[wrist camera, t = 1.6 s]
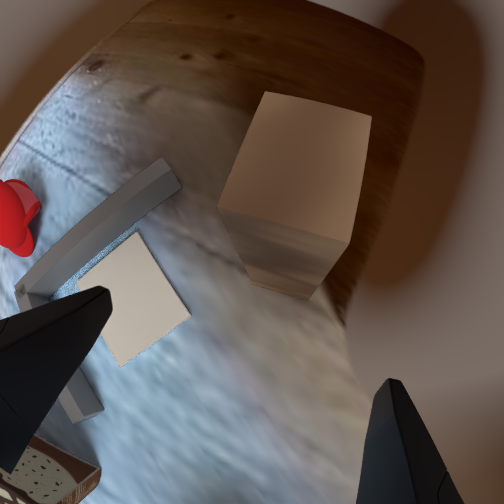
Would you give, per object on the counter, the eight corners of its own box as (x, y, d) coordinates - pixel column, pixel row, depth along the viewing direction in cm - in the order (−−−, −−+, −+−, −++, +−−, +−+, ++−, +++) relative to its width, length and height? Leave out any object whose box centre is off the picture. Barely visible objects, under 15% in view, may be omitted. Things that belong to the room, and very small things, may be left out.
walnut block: (325, 235, 22) (371, 116, 10) (307, 300, 21) (349, 243, 8) (273, 220, 23) (265, 91, 10) (252, 284, 21) (216, 206, 9)
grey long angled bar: (265, 295, 21) (263, 289, 18) (93, 417, 19) (72, 423, 16) (173, 175, 24) (161, 156, 22) (34, 293, 23) (12, 287, 20)
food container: (22, 469, 18) (-43, 489, 8) (17, 422, 19) (-56, 432, 10) (118, 523, 16) (59, 573, 7) (116, 474, 18) (44, 520, 8)
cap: (-14, 200, 23) (-38, 232, 18) (6, 160, 21) (-22, 189, 17) (36, 238, 28) (19, 275, 23) (60, 204, 26) (42, 239, 22)
